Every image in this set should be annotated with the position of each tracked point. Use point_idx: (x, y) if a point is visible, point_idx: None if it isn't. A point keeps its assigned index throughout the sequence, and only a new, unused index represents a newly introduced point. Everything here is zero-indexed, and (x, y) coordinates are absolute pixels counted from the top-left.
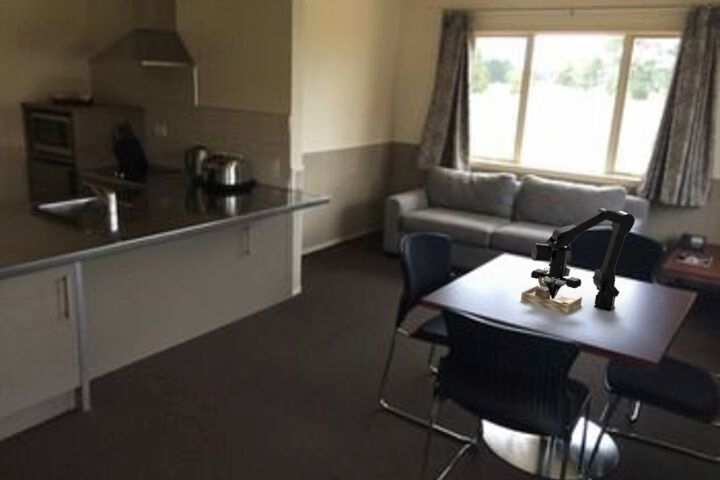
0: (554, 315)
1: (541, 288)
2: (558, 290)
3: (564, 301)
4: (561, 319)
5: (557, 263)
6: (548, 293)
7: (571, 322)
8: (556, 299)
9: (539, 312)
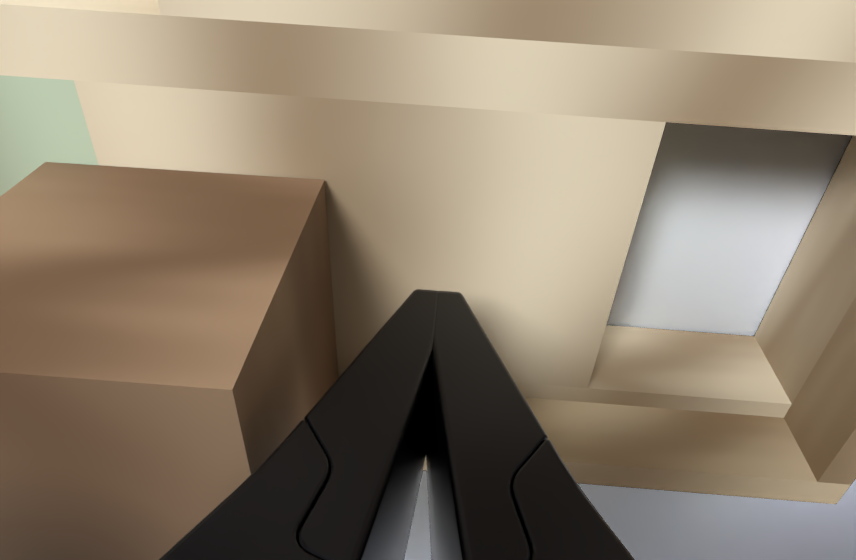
0: (605, 498)
1: (44, 526)
2: (562, 485)
3: (699, 40)
4: (713, 546)
5: None
6: (290, 414)
7: (843, 556)
8: (452, 43)
9: (414, 514)
